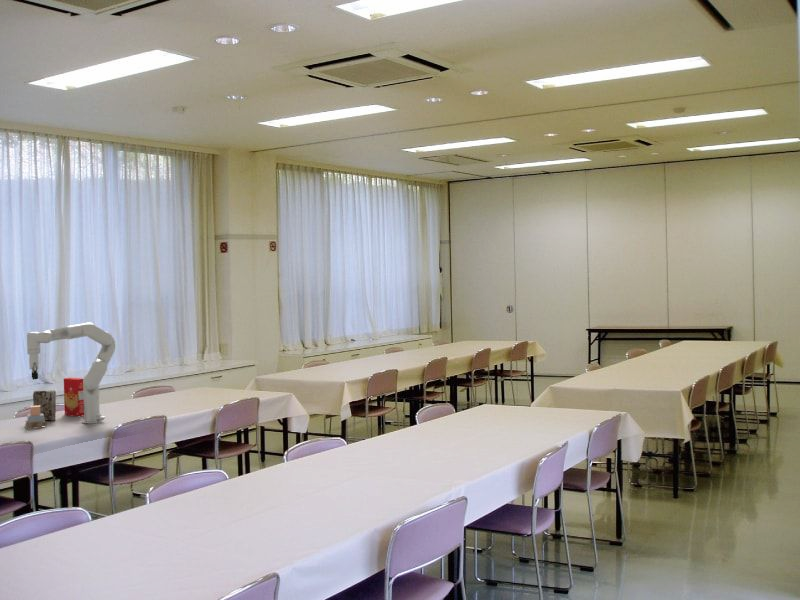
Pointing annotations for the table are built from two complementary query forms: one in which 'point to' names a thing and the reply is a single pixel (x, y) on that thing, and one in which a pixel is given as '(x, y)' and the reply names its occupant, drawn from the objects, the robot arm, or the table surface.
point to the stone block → (46, 403)
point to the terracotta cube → (35, 410)
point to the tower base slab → (34, 424)
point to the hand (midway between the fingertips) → (34, 378)
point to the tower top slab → (35, 418)
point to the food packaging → (73, 396)
